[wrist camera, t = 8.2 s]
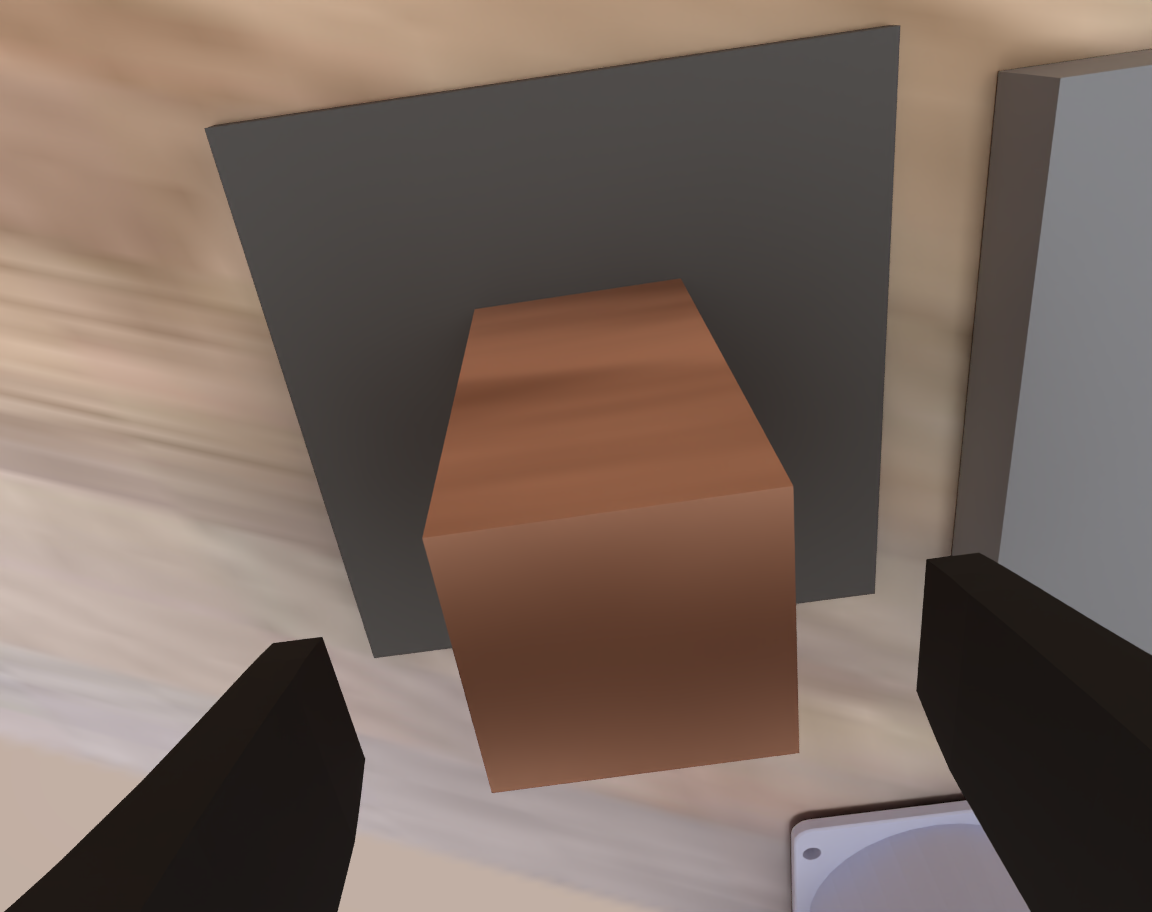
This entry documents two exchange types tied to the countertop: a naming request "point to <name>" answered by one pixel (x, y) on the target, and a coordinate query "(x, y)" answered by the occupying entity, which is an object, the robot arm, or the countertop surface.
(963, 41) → the countertop surface
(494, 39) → the countertop surface
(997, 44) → the countertop surface
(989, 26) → the countertop surface
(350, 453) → the mat
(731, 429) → the block
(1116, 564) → the holder
